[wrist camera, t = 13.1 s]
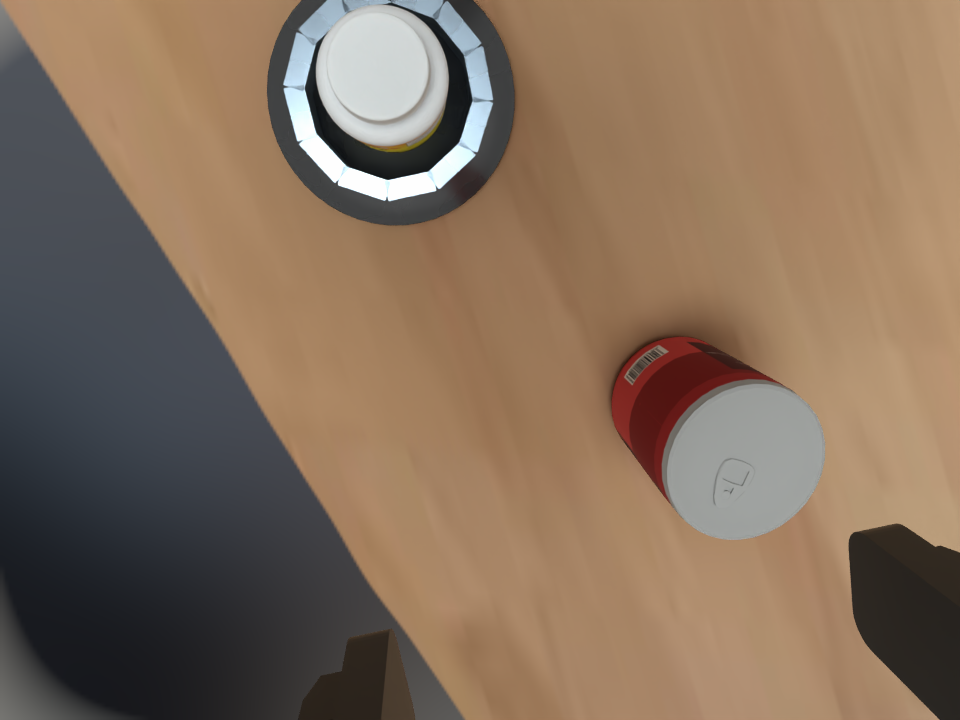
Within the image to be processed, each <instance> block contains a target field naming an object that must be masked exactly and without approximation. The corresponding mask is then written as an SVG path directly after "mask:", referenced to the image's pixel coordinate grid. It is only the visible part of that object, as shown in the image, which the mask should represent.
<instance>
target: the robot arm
mask: <svg viewBox="0 0 960 720" xmlns="http://www.w3.org/2000/svg"><path fill="white" fill-rule="evenodd" d="M849 560H850V575H851V590H852V605H853V614H854V619H855V622H856V625H857V628H858V630H859V632H860V635H861V636H862V638H863V640H864V642H865V643H866V645H867V646H868V647H869V649H870V650H871V651H872V652H873V653H874V654H875V655H876V656H877V657H878V658H879V659H880V660H881V661H882V662H883V663H884V664H885V665H886V666H887V667H888V668H889V669H890V670H891V671H892V672H893V673H894V674H895V675H896V676H897V677H898V678H899V679H900V680H901V681H902V682H903V683H904V684H905V685H906V686H907V687H908V688H909V689H910V690H911V691H912V692H913V693H914V694H915V695H916V696H917V697H918V698H919V699H920V700H921V701H922V702H923V703H924V704H925V705H926V706H927V707H928V708H929V709H930V710H931V711H932V712H933V713H934V714H935V715H936V716H937V717H938V718H939V719H940V720H960V553H959V552H957V551H954V550H951V549H948V548H946V547H943V546H937V547H935V546H933V545H932V544H930V543H929V542H927V541H926V540H924V539H923V538H921V537H920V536H918V535H917V534H915V533H914V532H912V531H911V530H910V529H908V528H907V527H905V526H903V525H901V524H892V525H887V526H882V527H878V528H873V529H868V530H863V531H859V532H854V533H853V534H852V535H851V536H850V539H849ZM298 720H415V714H414V709H413V704H412V700H411V696H410V692H409V688H408V684H407V680H406V676H405V672H404V667H403V663H402V660H401V655H400V651H399V647H398V643H397V640H396V637H395V633H394V631H393V630H392V629H388V630H383V631H378V632H374V633H369V634H364V635H359V636H355V637H350V638H349V639H348V642H347V646H346V652H345V657H344V662H343V668H342V671H341V672H336V673H332V674H327V675H322V676H320V678H319V679H318V681H317V682H316V683H315V685H314V686H313V688H312V689H311V690H310V692H309V693H308V694H307V696H306V697H305V698H304V700H303V702H302V706H301V710H300V714H299V718H298Z"/></svg>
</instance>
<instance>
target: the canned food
mask: <svg viewBox="0 0 960 720" xmlns="http://www.w3.org/2000/svg"><path fill="white" fill-rule="evenodd" d="M612 417H613V420H614V424H615V427H616V429H617V431H618V433H619V435H620V437H621V439H622V440H623V441H624V443H625V444H626V445H627V447H628V448H629V449H630V451H631V452H632V453H633V455H634V456H635V458H636V459H637V460H638V462H639V463H640V464H641V466H642V467H643V468H644V470H645V471H646V472H647V474H648V475H649V477H650V478H651V479H652V481H653V482H654V483H655V485H656V486H657V487H658V489H659V490H660V492H661V493H662V494H663V496H664V497H665V498H666V499H667V501H668V502H669V503H670V504H671V505H672V507H673V508H674V509H675V510H676V512H677V513H678V514H679V515H680V516H681V518H683V519H684V520H685V521H686V522H687V523H689V524H690V525H691V526H692V527H694V528H695V529H696V530H698V531H700V532H702V533H704V534H706V535H709V536H712V537H716V538H720V539H729V540H741V539H747V538H753V537H756V536H759V535H762V534H765V533H768V532H770V531H772V530H774V529H776V528H777V527H779V526H781V525H783V524H784V523H785V522H787V521H788V520H789V519H790V518H792V517H793V516H794V515H795V514H796V513H797V512H798V511H799V510H800V509H801V508H802V507H803V506H804V505H805V503H806V502H807V501H808V499H809V498H810V496H811V495H812V493H813V491H814V490H815V488H816V486H817V483H818V481H819V479H820V476H821V474H822V469H823V465H824V460H825V441H824V435H823V430H822V427H821V425H820V422H819V420H818V418H817V416H816V414H815V413H814V411H813V410H812V409H811V407H810V406H809V405H808V404H807V403H806V402H805V401H804V400H803V399H801V398H800V397H799V396H798V395H797V394H796V393H795V392H793V391H792V390H790V389H789V388H787V387H785V386H783V385H782V384H781V383H779V382H777V381H775V380H773V379H772V378H770V377H768V376H766V375H764V374H762V373H761V372H759V371H757V370H755V369H753V368H751V367H750V366H748V365H746V364H744V363H742V362H740V361H739V360H737V359H735V358H733V357H731V356H730V355H728V354H726V353H724V352H722V351H720V350H719V349H717V348H715V347H713V346H711V345H709V344H707V343H705V342H704V341H702V340H698V339H694V338H691V337H672V338H666V339H662V340H659V341H656V342H653V343H650V344H649V345H647V346H645V347H643V348H642V349H640V350H639V351H638V352H637V353H635V354H634V355H633V356H632V357H631V358H630V359H629V360H628V361H627V363H626V364H625V365H624V366H623V368H622V370H621V371H620V373H619V375H618V377H617V380H616V383H615V386H614V389H613V396H612Z"/></svg>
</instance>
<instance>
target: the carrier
mask: <svg viewBox="0 0 960 720" xmlns="http://www.w3.org/2000/svg"><path fill="white" fill-rule="evenodd" d="M380 4H381V5H390V6H395V7H398V8H401V9H403V10H406V11H408V12H410V13H412V14H414V15H415V16H416V17H418V18H419V19H420V20H422V21H423V22H424V23H425V24H426V25H427V26H428V27H429V28H430V29H431V31H432V32H433V33H434V34H435V36H436V37H437V39H438V41H439V42H440V44H441V47H442V49H443V51H444V54H445V57H446V61H447V66H448V74H449V86H448V94H447V99H446V105H445V110H444V114H443V118H442V120H441V123H440V125H439V127H438V128H437V130H436V131H435V133H434V134H433V135H432V136H431V137H430V138H429V139H428V140H427V141H426V142H425V143H423V144H422V145H421V146H419V147H417V148H415V149H413V150H410V151H407V152H403V153H387V152H382V151H378V150H375V149H373V148H371V147H369V146H367V145H365V144H363V143H361V142H360V141H358V140H356V139H355V138H353V137H352V136H350V135H349V134H347V133H346V132H344V131H343V130H342V129H341V128H340V127H339V126H338V125H337V124H336V123H335V122H334V121H333V119H332V118H331V117H330V115H329V114H328V112H327V110H326V109H325V107H324V105H323V103H322V100H321V98H320V95H319V91H318V87H317V81H316V63H317V57H318V52H319V49H320V46H321V44H322V41H323V39H324V37H325V36H326V34H327V33H328V31H329V30H330V28H331V27H332V26H333V25H334V24H335V23H336V22H337V21H338V20H339V19H340V18H341V17H343V16H344V15H346V14H347V13H349V12H351V11H353V10H355V9H357V8H360V7H364V6H368V5H380ZM267 97H268V109H269V114H270V119H271V124H272V128H273V131H274V134H275V137H276V139H277V142H278V144H279V147H280V149H281V151H282V153H283V155H284V157H285V159H286V160H287V162H288V163H289V165H290V166H291V168H292V170H293V171H294V173H295V174H296V175H297V176H298V177H299V179H300V180H301V181H302V182H303V183H304V185H305V186H306V187H308V188H309V189H310V190H311V191H312V192H313V193H314V194H315V195H316V196H317V197H319V198H320V199H321V200H323V201H324V202H325V203H327V204H328V205H329V206H331V207H333V208H335V209H337V210H338V211H340V212H342V213H344V214H346V215H349V216H351V217H354V218H356V219H359V220H363V221H367V222H371V223H375V224H383V225H409V224H415V223H421V222H425V221H428V220H432V219H435V218H437V217H440V216H442V215H444V214H446V213H449V212H450V211H452V210H454V209H455V208H457V207H459V206H460V205H462V204H463V203H464V202H466V201H467V200H468V199H469V198H471V197H472V196H473V195H474V194H475V193H476V192H477V191H478V190H479V189H480V188H481V187H482V186H483V185H484V184H485V183H486V181H487V180H488V179H489V177H490V176H491V174H492V173H493V172H494V170H495V168H496V167H497V165H498V163H499V161H500V159H501V158H502V156H503V153H504V150H505V148H506V145H507V143H508V140H509V136H510V132H511V128H512V123H513V115H514V84H513V76H512V71H511V67H510V63H509V59H508V56H507V53H506V51H505V48H504V46H503V43H502V41H501V39H500V37H499V35H498V33H497V31H496V29H495V28H494V26H493V24H492V23H491V22H490V20H489V19H488V17H487V16H486V14H485V13H484V12H483V11H482V10H481V8H480V7H479V6H478V5H477V4H476V3H475V2H474V1H473V0H302V1H301V2H300V3H299V4H298V5H297V6H296V8H295V9H294V10H293V11H292V13H291V14H290V16H289V17H288V19H287V20H286V22H285V23H284V25H283V27H282V29H281V31H280V33H279V36H278V38H277V40H276V43H275V46H274V49H273V52H272V55H271V59H270V65H269V71H268V82H267Z"/></svg>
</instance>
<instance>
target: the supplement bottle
mask: <svg viewBox="0 0 960 720" xmlns="http://www.w3.org/2000/svg"><path fill="white" fill-rule="evenodd" d="M316 81H317V87H318V91H319V95H320V98H321V100H322V103H323V105H324V107H325V109H326V110H327V112H328V114H329V115H330V117H331V118H332V119H333V121H334V122H335V123H336V124H337V125H338V126H339V127H340V128H341V129H342V130H343V131H344V132H346V133H347V134H349V135H350V136H352V137H353V138H355V139H356V140H358V141H360V142H361V143H363V144H365V145H367V146H369V147H371V148H373V149H375V150H378V151H382V152H387V153H403V152H407V151H410V150H413V149H415V148H417V147H419V146H421V145H422V144H423V143H425V142H426V141H427V140H428V139H429V138H430V137H431V136H432V135H433V134H434V133H435V131H436V130H437V128H438V127H439V125H440V123H441V120H442V118H443V114H444V110H445V105H446V99H447V94H448V86H449V74H448V66H447V61H446V57H445V54H444V51H443V49H442V47H441V44H440V42H439V41H438V39H437V37H436V36H435V34H434V33H433V32H432V31H431V29H430V28H429V27H428V26H427V25H426V24H425V23H424V22H423V21H422V20H420V19H419V18H418V17H416V16H415V15H414V14H412V13H410V12H408V11H406V10H403V9H401V8H398V7H395V6H390V5H381V4H380V5H368V6H364V7H360V8H357V9H355V10H353V11H351V12H349V13H347V14H346V15H344V16H343V17H341V18H340V19H339V20H338V21H337V22H336V23H335V24H334V25H333V26H332V27H331V28H330V30H329V31H328V33H327V34H326V36H325V37H324V39H323V41H322V44H321V46H320V49H319V52H318V57H317V63H316Z"/></svg>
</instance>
